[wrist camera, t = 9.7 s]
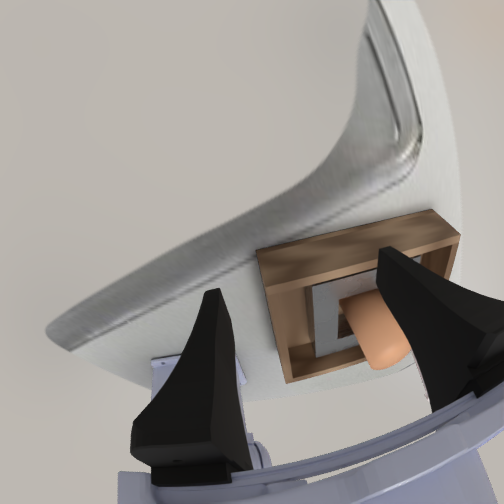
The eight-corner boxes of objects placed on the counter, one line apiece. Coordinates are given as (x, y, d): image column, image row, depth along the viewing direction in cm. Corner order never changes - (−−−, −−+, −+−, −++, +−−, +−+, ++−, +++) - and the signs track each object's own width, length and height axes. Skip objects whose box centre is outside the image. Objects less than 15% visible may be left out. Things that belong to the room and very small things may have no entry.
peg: (337, 311, 29) (368, 375, 23) (335, 283, 27) (371, 351, 20) (373, 298, 29) (408, 357, 22) (373, 269, 27) (416, 331, 20)
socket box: (277, 350, 32) (285, 383, 29) (255, 250, 24) (265, 287, 21) (411, 310, 32) (428, 337, 29) (432, 209, 24) (460, 234, 21)
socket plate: (308, 336, 31) (315, 357, 28) (302, 263, 25) (312, 286, 23) (392, 311, 31) (403, 329, 28) (404, 237, 25) (420, 256, 23)
